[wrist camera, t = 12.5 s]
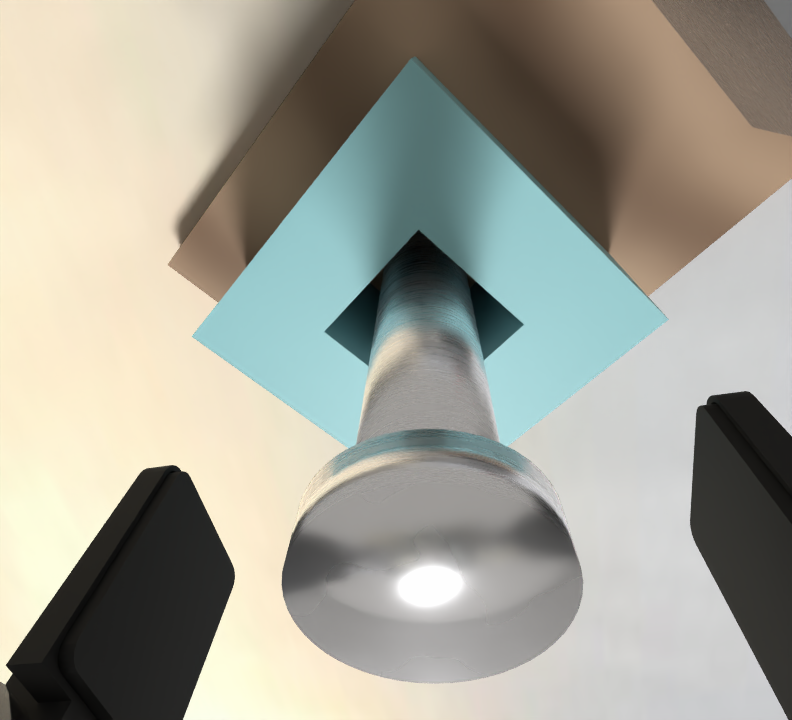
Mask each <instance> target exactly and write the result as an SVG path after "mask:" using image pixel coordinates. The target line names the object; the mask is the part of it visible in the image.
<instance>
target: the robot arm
mask: <svg viewBox="0 0 792 720" xmlns="http://www.w3.org/2000/svg"><path fill="white" fill-rule="evenodd" d="M690 525H691V531H692V535H693V538H694V541H695V543H696V545H697V547H698V549H699V551H700V553H701V555H702V557H703V558H704V560H705V562H706V564H707V566H708V568H709V570H710V572H711V574H712V575H713V577H714V579H715V581H716V583H717V585H718V587H719V589H720V591H721V593H722V594H723V596H724V598H725V600H726V602H727V604H728V606H729V608H730V610H731V612H732V613H733V615H734V617H735V619H736V621H737V623H738V625H739V627H740V629H741V630H742V632H743V634H744V636H745V638H746V640H747V642H748V644H749V646H750V648H751V649H752V651H753V653H754V655H755V657H756V659H757V661H758V663H759V665H760V667H761V668H762V670H763V672H764V674H765V676H766V678H767V680H768V682H769V684H770V685H771V687H772V689H773V691H774V693H775V695H776V697H777V699H778V701H779V703H780V704H781V706H782V708H783V710H784V712H785V714H786V716H787V718H788V720H792V436H791V435H790V434H789V433H788V432H787V431H786V430H785V429H784V428H783V427H782V426H781V424H780V423H779V422H778V421H777V420H776V419H775V418H774V417H773V416H772V415H771V414H770V413H769V411H768V410H767V409H766V408H765V407H764V406H763V405H762V404H761V403H760V402H759V401H758V400H757V398H756V397H755V396H754V395H753V394H751V393H750V392H747V391H744V392H736V393H728V394H721V395H713V396H710V397H709V398H708V400H707V405H703V406H699V407H698V409H697V413H696V428H695V446H694V463H693V480H692V498H691V515H690ZM234 580H235V572H234V567H233V565H232V563H231V560H230V558H229V556H228V554H227V552H226V550H225V548H224V546H223V544H222V542H221V540H220V538H219V536H218V534H217V531H216V529H215V527H214V525H213V523H212V521H211V519H210V517H209V515H208V513H207V511H206V509H205V507H204V505H203V502H202V500H201V498H200V496H199V494H198V492H197V490H196V488H195V486H194V484H193V482H192V480H191V478H190V476H189V474H188V473H186V472H183V471H181V470H180V468H178V467H177V466H174V465H170V466H163V467H155V468H147V469H145V470H143V471H142V472H141V473H140V474H139V476H138V477H137V478H136V480H135V481H134V483H133V484H132V486H131V487H130V488H129V490H128V491H127V493H126V494H125V496H124V497H123V498H122V500H121V501H120V503H119V504H118V506H117V507H116V508H115V510H114V511H113V513H112V514H111V516H110V517H109V518H108V520H107V521H106V523H105V524H104V526H103V527H102V528H101V530H100V531H99V533H98V534H97V536H96V537H95V538H94V540H93V541H92V543H91V544H90V546H89V547H88V548H87V550H86V551H85V553H84V554H83V556H82V557H81V558H80V560H79V561H78V563H77V564H76V566H75V567H74V568H73V570H72V571H71V573H70V574H69V576H68V577H67V579H66V580H65V581H64V583H63V584H62V586H61V587H60V589H59V590H58V591H57V593H56V594H55V596H54V597H53V599H52V600H51V601H50V603H49V604H48V606H47V607H46V609H45V610H44V611H43V613H42V614H41V616H40V617H39V619H38V620H37V621H36V623H35V624H34V626H33V627H32V629H31V630H30V631H29V633H28V634H27V636H26V637H25V639H24V640H23V641H22V643H21V644H20V646H19V647H18V649H17V650H16V651H15V653H14V654H13V656H12V657H11V659H10V660H9V661H8V663H7V664H6V666H7V667H8V669H9V670H10V671H11V672H12V673H13V674H12V676H11V677H10V679H9V680H8V682H7V683H6V685H5V684H3V683H1V682H0V720H183V718H184V715H185V713H186V710H187V707H188V705H189V702H190V699H191V697H192V694H193V691H194V689H195V686H196V683H197V681H198V678H199V675H200V673H201V670H202V668H203V665H204V662H205V660H206V657H207V654H208V652H209V649H210V646H211V644H212V641H213V638H214V636H215V633H216V631H217V628H218V625H219V623H220V620H221V617H222V615H223V612H224V609H225V607H226V604H227V601H228V599H229V596H230V593H231V591H232V588H233V585H234Z"/></svg>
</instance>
